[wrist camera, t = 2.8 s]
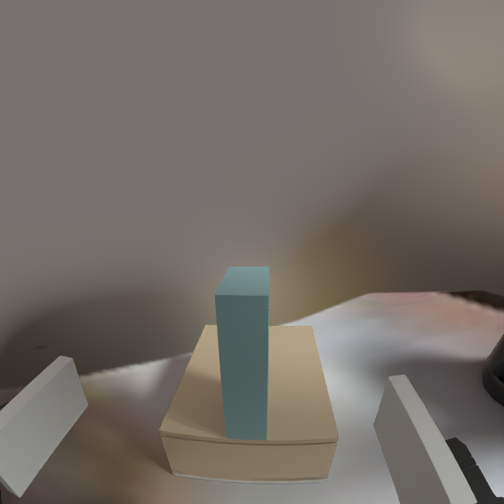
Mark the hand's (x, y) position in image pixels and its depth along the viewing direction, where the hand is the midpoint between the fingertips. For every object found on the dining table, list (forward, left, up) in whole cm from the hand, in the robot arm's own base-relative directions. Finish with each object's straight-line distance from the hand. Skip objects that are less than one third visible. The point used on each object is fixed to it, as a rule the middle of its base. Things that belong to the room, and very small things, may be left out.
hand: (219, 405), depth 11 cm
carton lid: (+11, -13, -10) cm, 20 cm away
